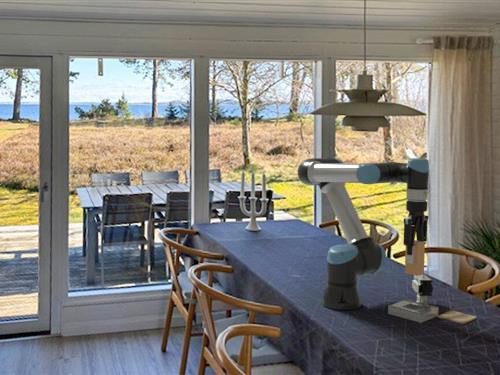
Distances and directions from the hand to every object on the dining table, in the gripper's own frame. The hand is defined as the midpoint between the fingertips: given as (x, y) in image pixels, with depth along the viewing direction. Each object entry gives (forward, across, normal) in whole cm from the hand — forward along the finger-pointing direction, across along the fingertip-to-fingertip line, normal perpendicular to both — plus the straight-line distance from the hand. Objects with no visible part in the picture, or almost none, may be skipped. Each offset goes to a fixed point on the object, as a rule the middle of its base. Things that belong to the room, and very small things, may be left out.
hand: (414, 262), depth 215 cm
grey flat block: (+20, 0, 0) cm, 20 cm away
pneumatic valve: (+20, +14, +5) cm, 25 cm away
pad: (+20, +9, -13) cm, 26 cm away
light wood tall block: (+4, 0, 0) cm, 4 cm away
